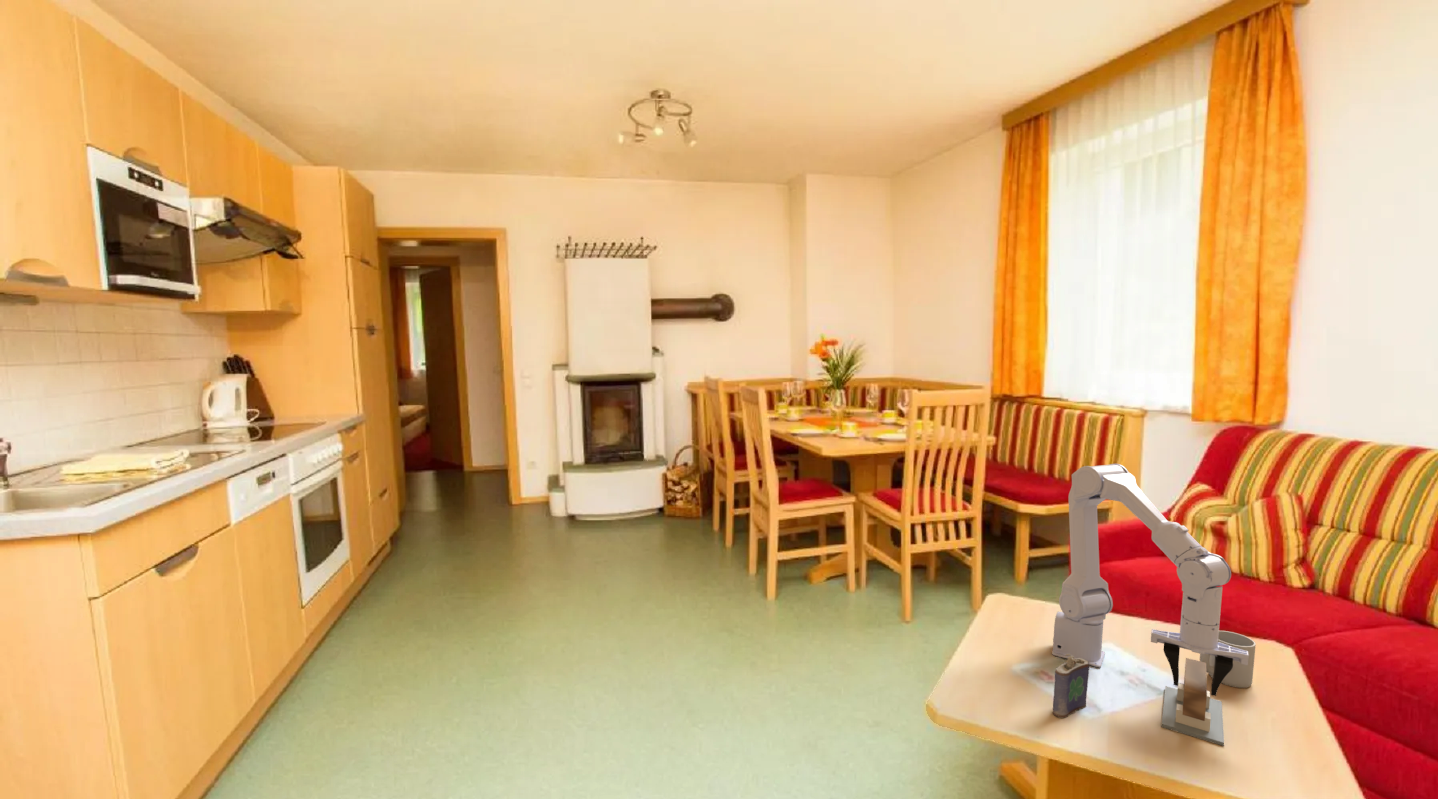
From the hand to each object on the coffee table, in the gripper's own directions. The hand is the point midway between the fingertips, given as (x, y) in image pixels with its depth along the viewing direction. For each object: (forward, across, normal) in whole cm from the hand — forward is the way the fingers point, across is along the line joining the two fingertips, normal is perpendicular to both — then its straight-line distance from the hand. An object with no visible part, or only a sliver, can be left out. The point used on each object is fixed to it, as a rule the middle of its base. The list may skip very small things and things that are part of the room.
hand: (1194, 688), depth 119 cm
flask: (+6, -19, -12) cm, 23 cm away
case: (+2, 0, 0) cm, 2 cm away
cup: (+6, +5, +20) cm, 21 cm away
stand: (+5, 0, 0) cm, 5 cm away
